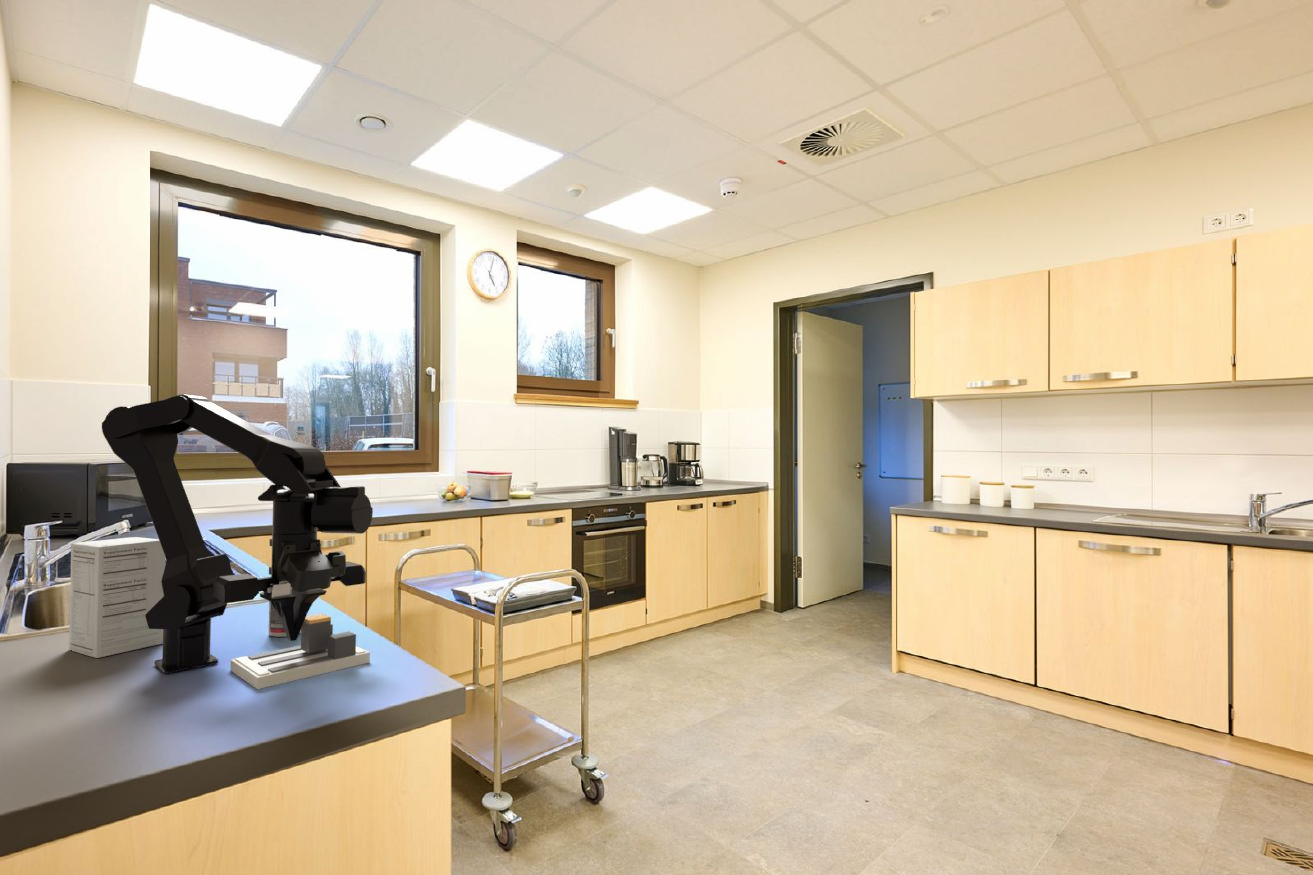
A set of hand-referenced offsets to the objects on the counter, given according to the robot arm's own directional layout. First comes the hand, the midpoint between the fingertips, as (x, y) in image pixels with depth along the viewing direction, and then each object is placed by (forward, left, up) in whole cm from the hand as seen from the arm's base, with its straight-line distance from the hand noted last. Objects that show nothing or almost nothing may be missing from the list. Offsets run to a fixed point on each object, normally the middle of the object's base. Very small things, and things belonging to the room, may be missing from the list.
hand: (292, 640), depth 94 cm
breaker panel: (0, +1, -4) cm, 4 cm away
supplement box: (-31, -15, -4) cm, 35 cm away
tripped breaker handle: (0, +3, -2) cm, 4 cm away
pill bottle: (-20, +6, -4) cm, 21 cm away
